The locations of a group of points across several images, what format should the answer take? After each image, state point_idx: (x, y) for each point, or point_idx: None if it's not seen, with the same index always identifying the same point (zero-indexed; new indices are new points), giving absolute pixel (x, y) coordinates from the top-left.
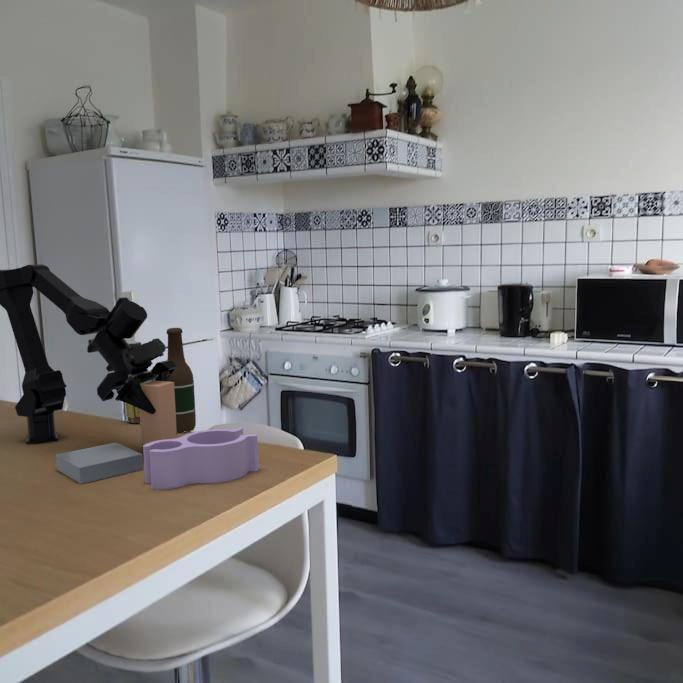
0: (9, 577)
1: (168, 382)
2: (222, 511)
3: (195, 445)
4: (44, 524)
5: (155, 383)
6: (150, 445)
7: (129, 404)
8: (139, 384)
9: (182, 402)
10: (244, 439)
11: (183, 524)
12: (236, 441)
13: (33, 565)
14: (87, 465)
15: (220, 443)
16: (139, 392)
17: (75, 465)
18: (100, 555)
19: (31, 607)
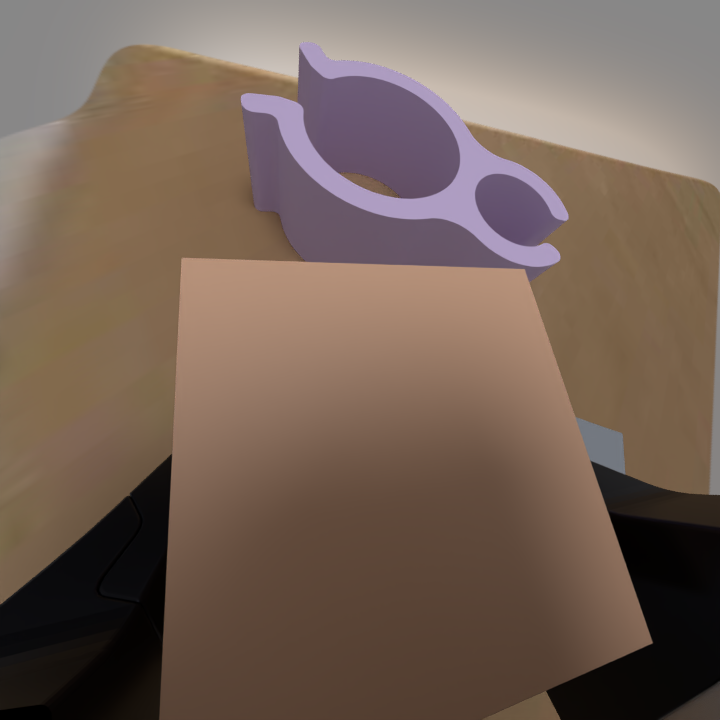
0: (717, 239)
1: (244, 324)
2: (488, 131)
3: (470, 143)
4: (672, 318)
5: (419, 461)
6: (544, 244)
7: None
8: (696, 517)
9: None
10: (355, 63)
11: (545, 155)
12: (386, 71)
13: (697, 237)
14: (602, 431)
15: (422, 98)
16: (600, 470)
17: (623, 464)
18: (642, 192)
19: (706, 184)
